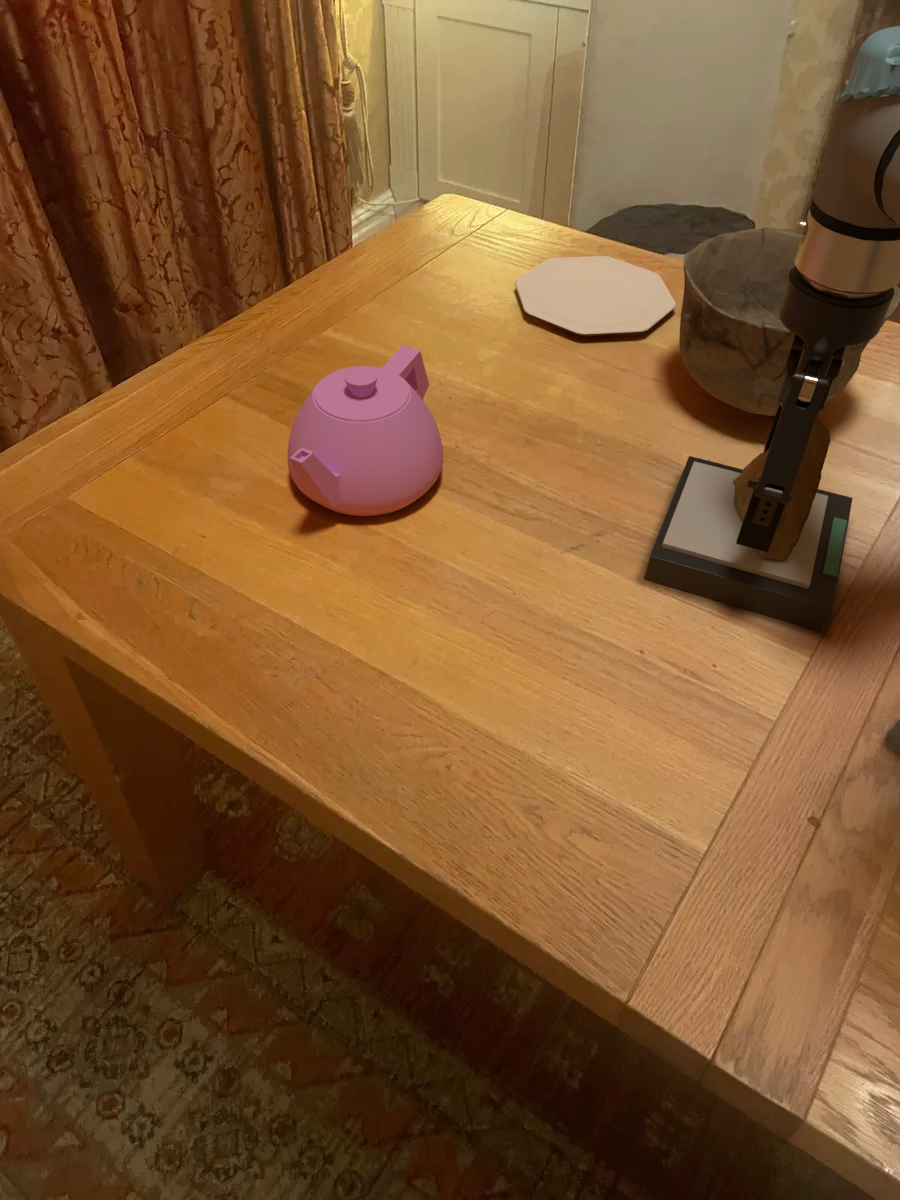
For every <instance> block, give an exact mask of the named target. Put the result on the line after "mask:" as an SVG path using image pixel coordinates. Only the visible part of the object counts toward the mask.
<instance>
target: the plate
mask: <svg viewBox="0 0 900 1200" xmlns="http://www.w3.org/2000/svg"><path fill="white" fill-rule="evenodd" d="M514 286H515V289H516V291H517V295H518V298H519V300H520V304H521V306H522V310H523V312H524V313H525V314H526V315H527V316H528V317H530V318H533V319H535V320H537V321H540V322H543V323H545V324H548V325H551V326H552V327H556V328H558V329H560V330H563V331H566V332H567V333H570V334H573V335H575V336H580V337H596V336H597V337H599V336H600V337H601V336H618V335H619V336H620V335H621V336H622V335H639V334H640V335H641V334H644V333H647V332H648V331H649V330H651V329H652V328H653V327H655V326H656V325H657V324H658V323H660V321H662V320H663V319H664V318H665V317H666V316H668V315H669V314H670V313H672V312H673V311H675V309H676V307H677V302H676V301H675V299H674V296H673V295H672V293H671V292H670V290H669V288H668V287H667V285H666V284H665V282H664V280H663V278H662V276H661V275H660V274H659V273H657V272H655V271H651V270H649V269H646V268H643V267H640V266H637V265H635V264H632V263H629V262H626V261H625V260H621V259H617V258H615V257H612V256H608V255H588V256H564V257H551V258H547V259H546V260H544V261H543V262H541V263H539V264H537V265H536V266H535V267H533V268H531V269H530V270H527V272H525V273H523V274H522V275H521V276H519V277H517V278H516V280H515V282H514Z"/></svg>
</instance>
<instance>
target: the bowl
mask: <svg viewBox="0 0 900 1200" xmlns="http://www.w3.org/2000/svg"><path fill="white" fill-rule="evenodd" d="M802 236H803V235H801V234H798V233H796V232H795V231H794V229H787V228H780V227H779V228H778V227H769V226H767V227H761V228H750V229H743V230H737V231H733V232H726V233H720V234H718V235H715V236H714V237H711V238H707V239H705V240H703V241H701V242H699V243H698V245H697V246H695V247H693V248H692V249H691V250H690V251H687V252H686V253H685V255H684V257H683V261H682V262H683V263H682V267H683V276H684V285H683V298H682V305H681V310H680V322H679V335H678V336H679V337H678V339H679V340H678V341H679V342H678V345H679V354H680V357H681V360H682V362H683V364H684V366H685V368H686V370H687V372H688V374H689V375H690V377H692V379H694V380H695V382H696V383H697V385H699V386H700V387H701V388H702V389H703V390H704V391H705V392H707V394H709V395H710V396H711V397H713V398H715V399H716V400H718V401H720V402H723V403H724V404H726V405H729V406H731V407H734V408H736V409H738V410H741V411H744V412H746V413H749V414H755V415H761V416H768V417H769V416H770V417H775V415H776V412H777V409H778V406H779V402H778V399H779V395H780V392H781V389H782V386H783V383H784V380H785V377H786V370H785V366H786V363H787V360H788V356H789V353H790V349H791V346H792V343H793V340H794V336H795V334H793V333H792V332H791V331H789V330H788V329H787V328H786V327H785V326H784V325H783V323H782V322H781V320H780V318H779V313H778V310H779V305H780V302H781V299H782V295H783V292H784V289H785V285H786V282H787V279H788V276H789V272H790V270H791V269H792V268H793V267H794V266H796V265H795V261H794V259H795V255H796V252H797V249H798V245H799V242H800V239H801V237H802ZM899 303H900V287H899V286H898V285H896V286H894V296H893V298H892V301H891V303H890V306H889V308H888V311H887V313H886V316H885V318H884V321H883V323H882V326H881V328H882V327H883V326H884V324H885V323H886V322H887V321H888V319H889V318H890V317H891V316H892V314H893V313H894V312H895V311H896V309H897V307H898V305H899ZM869 343H870V341H868V342H866V343H863V344H860V345H856V346H846V347H845V350H844V353H843V356H842V358H841V359H843V362H842V365H841V368H840V371H839V374H838V376H837V378H836V379H835V380H834V381H833V382H832V384H831V387H830V391H829V394H828V397H827V400H826V402H828V401H830V400H831V399H833V398H834V397H836V396H837V395H838V394H840V392H842V391H843V390H844V389H845V388H846V387H847V386H848V384H849V382H850V381H851V380H852V378H853V377H854V375H855V374H856V373H857V371H858V369H859V366H860V362H861V359H862V354H863V352H864V350H865V349H866V347H867V346H868V344H869ZM788 393H789V390H788Z"/></svg>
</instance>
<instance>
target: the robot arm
mask: <svg viewBox="0 0 900 1200" xmlns="http://www.w3.org/2000/svg"><path fill="white" fill-rule="evenodd" d="M812 194H813V195H812V200H811V203H810V206H809V211H808V213H807V219H798V220H797V221H796V222H795V224H794V225H793V226H794V227H793V230H794V231H795V232H796V233H798V234H801V235H803V236H802V237H801V239H800V242H799V245H798V249H797V252H796V255H795V259H794V261H795V265H796V266H794V267H793V268H792V269H791V270H790V272H789V276H788V279H787V282H786V285H785V289H784V292H783V295H782V299H781V302H780V305H779V310H778V313H779V318H780V320H781V322H782V323H783V325H784V326H785V327H786V328H787V329H788V330H789V331H791V332H792V333H793V334H795V336H794V340H793V343H792V346H791V349H790V353H789V356H788V360H787V363H786V366H785V370H786V377H785V380H784V383H783V386H782V389H781V392H780V395H779V399H778V402H779V406H778V409H777V412H776V415H775V416H774V418H773V421H772V425H771V428H770V430H769V434H768V437H767V440H766V443H765V445H764V448H763V452H762V453H764V452H766V451H767V450H768V449H769V451H768V454H767V457H766V461H765V464H764V467H763V470H762V473H761V476H760V478H759V479H757V481H754V480H750V479H749V482H748V485H747V487H748V488H752V489H754V490H753V493H752V496H751V499H750V502H749V505H748V508H747V511H746V514H745V517H744V520H743V523H742V526H741V529H740V532H739V535H738V538H737V542H736V544H739V545H742V546H746V547H750V548H753V549H757V550H761V551H764V552H768V550H769V548H770V545H771V542H772V540H773V537H774V534H775V532H776V529H777V526H778V524H779V521H780V518H781V516H782V513H783V510H784V508H785V505H786V504H788V501H790V499H791V491H792V487H793V484H794V481H795V478H796V475H797V472H798V469H799V467H800V464H801V461H802V458H803V455H804V452H805V449H806V446H807V443H808V440H809V437H810V434H811V431H812V428H813V425H814V422H815V419H817V416H818V414H820V413H821V412H822V411H823V410H824V409H825V405H826V402H827V401H826V400H827V397H828V394H829V391H830V387H831V384H832V382H833V381H834V380H835V379H836V378H837V376H838V374H839V371H840V368H841V365H842V362H843V359H841V358H842V356H843V353H844V350H845V347H846V346H856V345H860V344H863V343H866V342H868V341H869V342H871V340H873V339H875V337H876V336H877V335H878V334H879V332H880V330H881V328H882V327H883V326H882V323H883V321H884V318H885V316H886V313H887V311H888V308H889V306H890V303H891V301H892V298H893V296H894V287H896V286H898V285H899V283H900V26H899V25H897V26H889V27H886V28H882V29H879V30H878V31H875V32H874V33H872V34H871V35H869V36H868V37H867V38H866V39H865V40H864V41H863V43H862V44H861V45H860V47H859V50H858V53H857V55H856V58H855V61H854V63H853V67H852V70H851V73H850V75H849V78H848V81H847V84H846V87H845V89H844V92H843V93H842V94H841V95H840V96H839V98H838V107H837V110H836V114H835V118H834V121H833V124H832V128H831V132H830V134H829V138H828V142H827V146H826V149H825V153H824V157H823V159H822V164H821V166H820V170H819V174H818V176H817V181H816V185H815V188H814V191H813V193H812ZM881 326H882V327H881ZM788 390H789V393H788Z"/></svg>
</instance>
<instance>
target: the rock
mask: <svg viewBox="0 0 900 1200" xmlns="http://www.w3.org/2000/svg"><path fill="white" fill-rule="evenodd" d="M831 434H832V432H831V430H830V429H829V428H828V427H827V426H826V425H825V424H823V423H822V421H820V420H818V419H817V418H816V419H815V422H814V425H813V428H812V431H811V434H810V437H809V440H808V443H807V446H806V449H805V452H804V455H803V458H802V461H801V464H800V467H799V469H798V472H797V475H796V478H795V481H794V484H793V487H792V491H791V499H790V501H788V504H786V505H785V508H784V510H783V513H782V516H781V518H780V521H779V524H778V526H777V529H776V532H775V534H774V537H773V540H772V542H771V545H770V548H769V550H768V552H764V551H761V550H758V552H759V553H760V555H761V556H762V557H764V558H770V559H775V560H779V561H785V560H787V558H788V556H789V555H790V554H791V553H792V550H793V548H794V547H795V546H796V545H797V542H798V541H799V538H800V535H801V532H802V530H803V527H804V524H805V522H806V520H807V519H808V516H809V513H810V511H811V506H812V503H813V500H814V499H815V496H816V492H817V489H819V486H820V483H821V480H822V470H823V469H824V464H825V462H826V458H827V455H828V450H829V446H830V443H831V438H832V437H831ZM768 451H769V449H768V450H767V451H766V452H764V451H763V452H764V453H763V452H760V453H759V454H758V455H757V456H756V457H754V458H753V459H752V460H751V461H750V462H749V463H748V464H747V465H746V466H744V467H743V471H742V474H741V475H740V476H738V477H737V478H736V479H735V480H733V482H734V484H735V485H736V487H735V492H736V494H735V502H734V504H735V505H736V507H737V509H738V512H739V515H740V517H741V518H742V520H744V517H745V514H746V511H747V508H748V505H749V502H750V499H751V496H752V493H753V490H754V489H752V488H748V487H747V485H748V482H749V479H750V480H754V481H757V479H759V478H760V476H761V473H762V470H763V467H764V464H765V461H766V457H767V454H768Z"/></svg>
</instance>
